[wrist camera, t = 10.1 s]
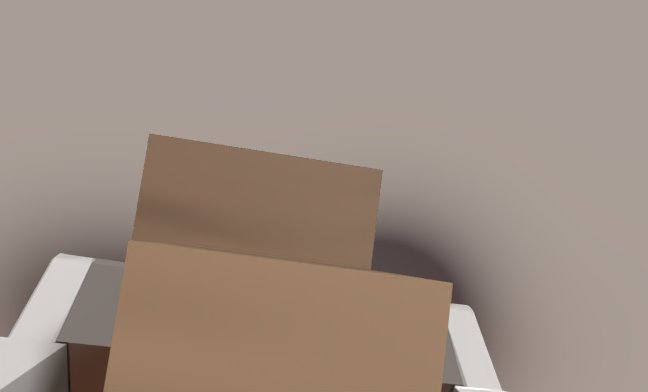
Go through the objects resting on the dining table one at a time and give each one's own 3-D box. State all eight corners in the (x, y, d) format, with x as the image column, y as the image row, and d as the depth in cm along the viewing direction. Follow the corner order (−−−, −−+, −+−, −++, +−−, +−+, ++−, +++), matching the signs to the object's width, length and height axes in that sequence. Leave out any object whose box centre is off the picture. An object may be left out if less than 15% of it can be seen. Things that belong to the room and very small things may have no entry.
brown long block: (620, 630, 6) (663, 20, 6) (-199, 588, 5) (-46, -126, 5) (323, 334, 24) (341, 191, 25) (150, 314, 23) (174, 166, 24)
